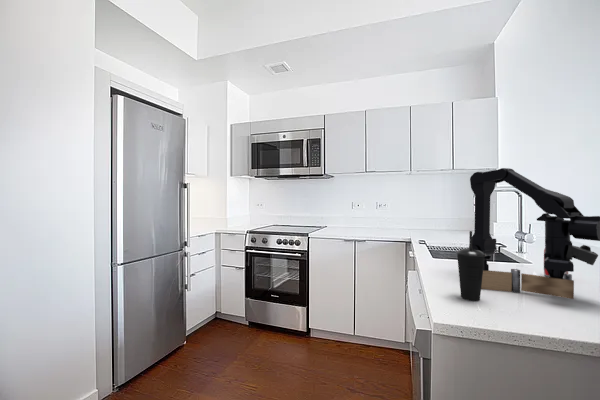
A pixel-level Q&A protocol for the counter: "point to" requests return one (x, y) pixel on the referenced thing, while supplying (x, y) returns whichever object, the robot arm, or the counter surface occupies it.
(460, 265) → the drinking cup
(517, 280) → the gate frame
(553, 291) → the gate leaf
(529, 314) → the counter surface
